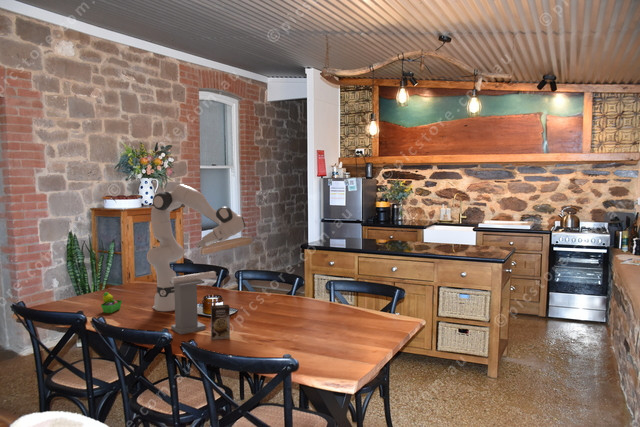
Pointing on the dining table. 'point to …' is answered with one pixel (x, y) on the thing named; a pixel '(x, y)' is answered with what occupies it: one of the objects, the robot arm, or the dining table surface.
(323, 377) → the dining table surface
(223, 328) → the coffee box
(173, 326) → the shelf stand
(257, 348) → the dining table surface
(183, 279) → the beige wooden bar
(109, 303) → the fruit basket
